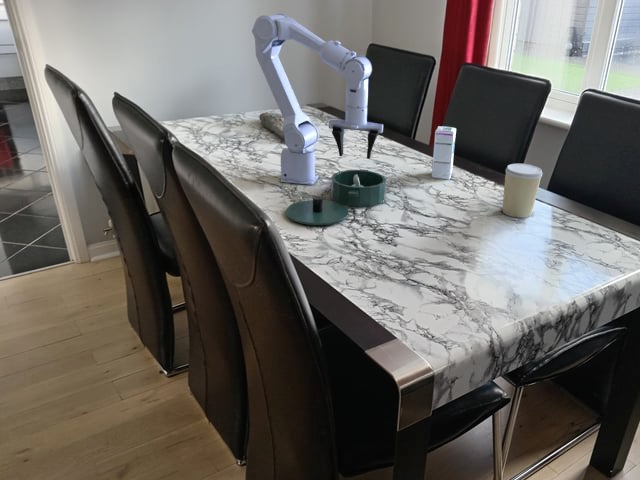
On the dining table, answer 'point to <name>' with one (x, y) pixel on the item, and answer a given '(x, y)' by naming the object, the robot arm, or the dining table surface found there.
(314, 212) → the lid
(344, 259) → the dining table surface
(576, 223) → the dining table surface
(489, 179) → the dining table surface
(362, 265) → the dining table surface
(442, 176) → the syrup box
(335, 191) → the pot
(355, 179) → the pacifier
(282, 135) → the elongated rock
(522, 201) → the coffee cup
